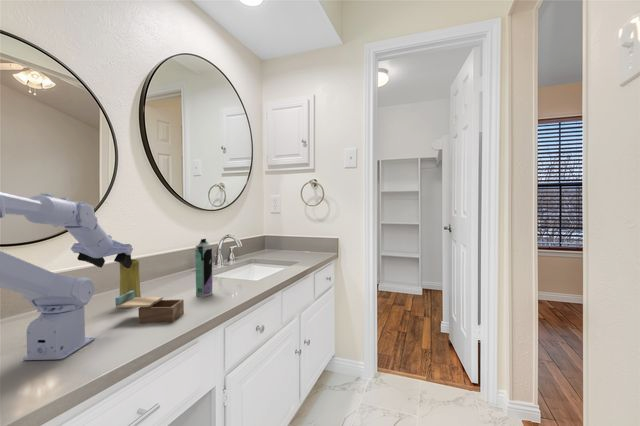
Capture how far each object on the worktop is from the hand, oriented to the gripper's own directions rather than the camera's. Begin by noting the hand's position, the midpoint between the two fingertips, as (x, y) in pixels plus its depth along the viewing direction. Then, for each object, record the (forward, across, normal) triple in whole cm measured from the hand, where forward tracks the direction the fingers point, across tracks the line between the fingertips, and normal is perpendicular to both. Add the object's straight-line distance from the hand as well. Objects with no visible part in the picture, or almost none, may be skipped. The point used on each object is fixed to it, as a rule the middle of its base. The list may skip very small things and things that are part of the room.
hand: (116, 264), depth 85 cm
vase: (+16, 0, +5) cm, 17 cm away
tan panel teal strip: (+4, -9, +10) cm, 14 cm away
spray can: (+23, -20, -2) cm, 30 cm away
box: (+7, -15, +13) cm, 21 cm away
